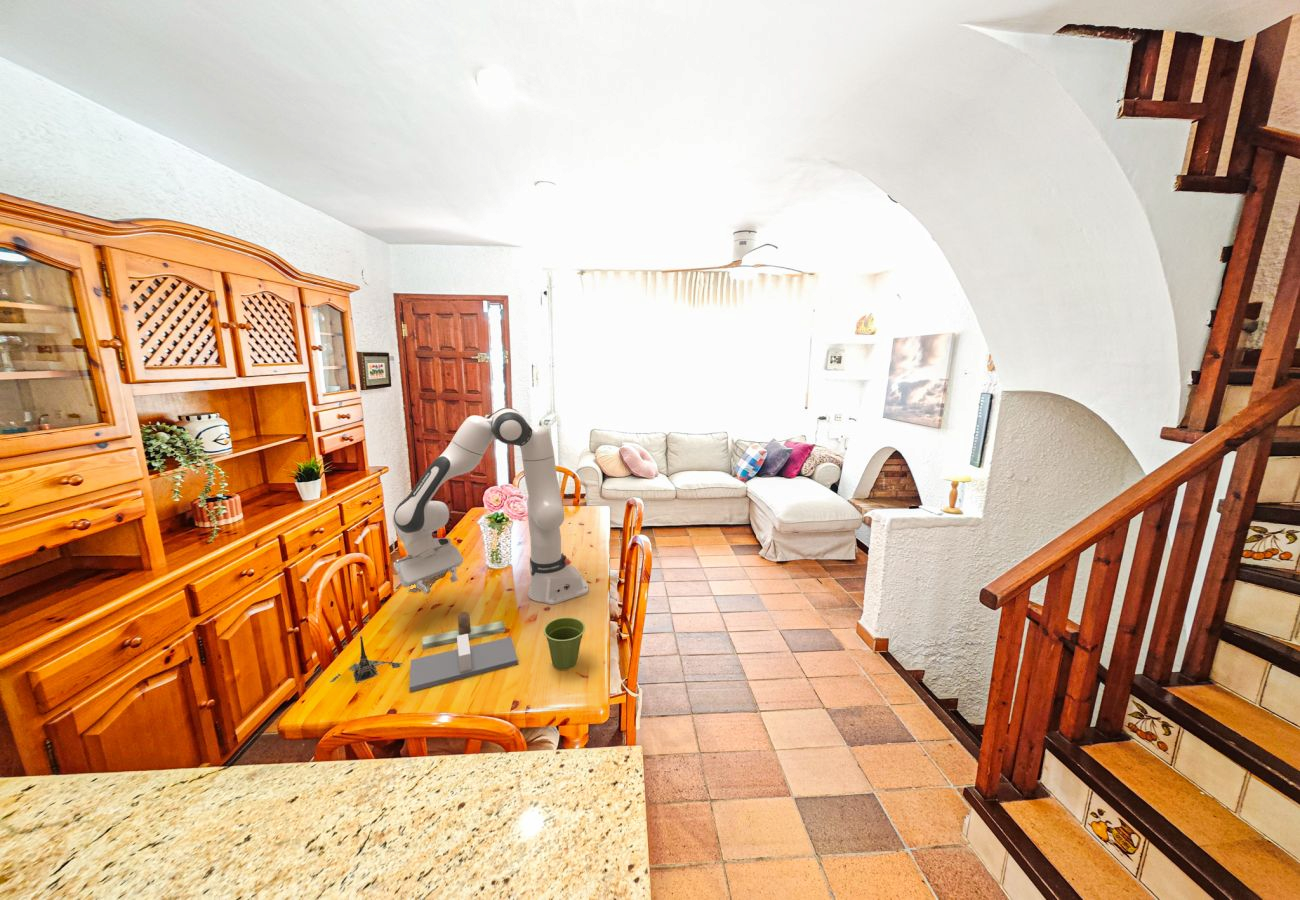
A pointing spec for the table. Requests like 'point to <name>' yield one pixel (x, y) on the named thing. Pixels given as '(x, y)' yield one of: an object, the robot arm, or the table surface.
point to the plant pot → (564, 641)
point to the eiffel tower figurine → (366, 667)
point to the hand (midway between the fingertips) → (441, 586)
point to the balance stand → (461, 662)
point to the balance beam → (463, 632)
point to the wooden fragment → (428, 582)
